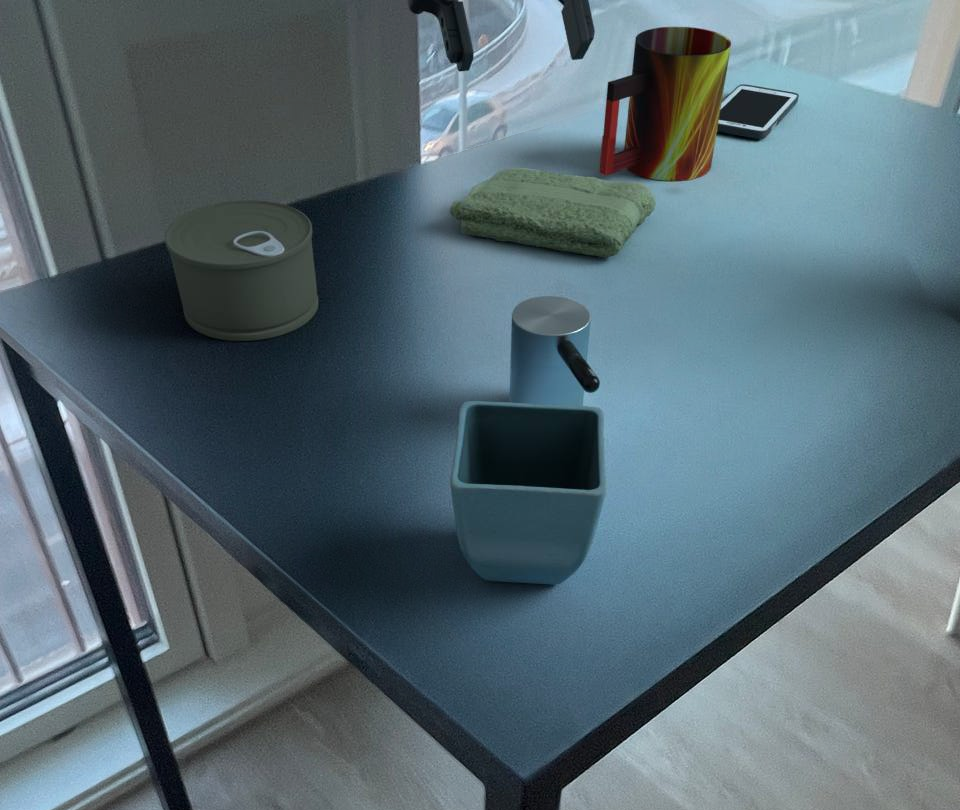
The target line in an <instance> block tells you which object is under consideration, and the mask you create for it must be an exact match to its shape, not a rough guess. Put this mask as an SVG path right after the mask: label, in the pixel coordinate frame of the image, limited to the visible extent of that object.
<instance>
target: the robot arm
mask: <svg viewBox="0 0 960 810" xmlns="http://www.w3.org/2000/svg"><path fill="white" fill-rule="evenodd" d="M557 1H558V2H559V3H560V4H561V5H562V6H563V7H562V9H561V11H560V12H561V17H562V21H563V27H564V30H565V36H566V40H567V47H568V51H569V54H570V55H569V56H570V58H571V60H572V61H578V60H583V59H584V58H585V56H586V54H587V52H588V51H589V49H590V46H591V44H592V42H593V41H594V39H595V34H596V30H595V25H594V21H593V20H594V19H593V16H592V11H591V6H590V0H557ZM406 2H407V6H408V9H409V11H410V12H411V13H412V14H414V15H421V14H423V13H428V14H431V15H433V16H434V17H436V19H437V20H438V23H439V28H440V33H441V36H442V41H443V46H444V50H445V55H446V58H447V59H448V61H449V62H450V64H455V65H456V68H457V71H458V72H460V73H461V72H469V71H470V69H471V66H472V64H473V61H474V56H475V55H474V46H473V42H472V37H471V33H470V29H469V24H468V19H467V14H466V11H465V6H464V5H465V4H464V1H463V0H461V1H460V0H407V1H406Z"/></svg>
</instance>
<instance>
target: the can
mask: <svg viewBox="0 0 960 810" xmlns="http://www.w3.org/2000/svg"><path fill="white" fill-rule="evenodd" d="M312 238H313V224H312V222H311V220H310V218H309V217H308V216H307V215H306V214H305V213H303V212H302V211H300V210H299V209H297V208H295V207H292V206H289V205H287V204H283V203H279V202H275V201H268V200H253V199H252V200H251V199H250V200H249V199H248V200H246V199H245V200H244V199H243V200H231V201H224V202H223V201H222V202H218V203H213V204H209V205H205V206H202V207H199V208H196V209H193V210H191V211H189V212H187V213H185V214H183V215H182V216H180V217H178V218H177V219H175V220H174V221H173V222H171V224H170V225H169V226H168V227H167V228H166V231H165V233H164V244H165V247H166V249H167V251H168V252H169V256H170V259H171V263H172V267H173V271H174V276H175V280H176V283H177V284H176V285H177V288H178V292H179V296H180V301H181V305H182V309H183V315H184V318H185V320H186V322H187V325H189V326H190V327H191V329H193V330H194V331H196V332H197V333H199V334H201V335H203V336H206V337H209V338H212V339H217V340H222V341H229V342H255V341H263V340H267V339H268V340H269V339H273V338H277V337H280V336H283V335H286V334H289V333H292V332H294V331H296V330H298V329H299V328H301V327H303V326H304V325H306V324H307V323H308V322H309V321H310V320H312V319H313V317H314V316H315V315H316V314H317V311H318V309H319V295H318V288H317V279H316V269H315V260H314V250H313V243H312V242H313V241H312Z"/></svg>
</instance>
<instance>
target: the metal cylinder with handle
mask: <svg viewBox="0 0 960 810" xmlns="http://www.w3.org/2000/svg"><path fill="white" fill-rule="evenodd" d="M591 315H592V314H591V313H590V311H589V309H588V308H587V307H586V306H585V305H584V304H582V303H580V302H579V301H577V300H574V299H571V298H567V297H563V296H557V295H556V296H555V295H544V296H535V297H531V298H528V299H525V300H523V301H521V302H519V303H518V304H517V305H516V306H515V307H513V310H512V312H511V325H510V327H511V328H510V329H511V330H510V331H511V333H510V363H509V364H510V367H509V368H510V369H509V399H508V400H509V401H508V402H509V403H527V404H550V405H568V406H569V405H570V406H584V397H585V392H586V393H588V394H592V393H595V392H597V391H598V390H599V388H600V385H601V381H600V379H599V377H598V375H597V374H596V373H595V371H594V370H593V369H592V367H591V366H590V365H589V363H588V352H589V343H590V333H591V332H590V331H591V321H592V317H591Z"/></svg>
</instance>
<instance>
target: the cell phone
mask: <svg viewBox="0 0 960 810" xmlns="http://www.w3.org/2000/svg"><path fill="white" fill-rule="evenodd" d="M799 97H800V95H799V93H797V92H793V91H787V90H782V89H776V88H769V87H764V86H758V85H751V84H746V83H745V84H743V83H742V84H739V85H737V86H736V87H735V88H733V90H732V91H731V92H730V93H729V94H728V95H726V96H725V97H724V98H723V99H722V103H721V109H720V115H719V121H718V127H717V133H723V134H729V135H735V136H740V137H745V138H750V139H755V140H756V139H757V140H763V139H765V138H767V137H768V135H770V133H772V130H774V128H775V127H776V126H778V125H779V124H780V123H781V121H783V119H784V118H785V117H786V116H787V115H788V114H789V112H791V110H792V109H793V108H794V107H795V106H796V105H797V103H798V101H799Z"/></svg>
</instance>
